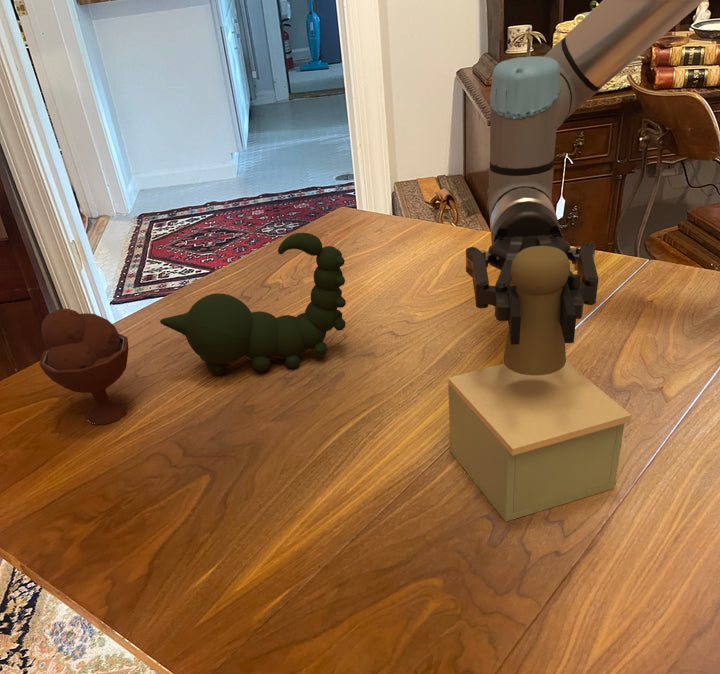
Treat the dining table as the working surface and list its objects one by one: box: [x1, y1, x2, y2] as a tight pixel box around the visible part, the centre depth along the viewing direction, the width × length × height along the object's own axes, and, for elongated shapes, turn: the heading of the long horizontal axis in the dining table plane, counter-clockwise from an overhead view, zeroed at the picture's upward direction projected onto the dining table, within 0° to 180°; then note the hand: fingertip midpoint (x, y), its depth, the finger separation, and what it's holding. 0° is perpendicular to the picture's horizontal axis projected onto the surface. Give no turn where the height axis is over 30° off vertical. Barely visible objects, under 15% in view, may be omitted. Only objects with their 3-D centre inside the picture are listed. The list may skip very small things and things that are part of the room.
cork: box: [502, 246, 571, 376], centre depth 69 cm, size 6×6×11 cm
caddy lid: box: [447, 361, 632, 455], centre depth 74 cm, size 14×13×1 cm
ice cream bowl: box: [38, 308, 130, 425], centre depth 93 cm, size 11×11×15 cm
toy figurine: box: [159, 232, 347, 376], centre depth 99 cm, size 9×19×25 cm
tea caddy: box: [448, 384, 625, 522], centre depth 78 cm, size 14×13×9 cm
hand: (543, 329), depth 64 cm, fingers closed on cork, 4 cm apart
